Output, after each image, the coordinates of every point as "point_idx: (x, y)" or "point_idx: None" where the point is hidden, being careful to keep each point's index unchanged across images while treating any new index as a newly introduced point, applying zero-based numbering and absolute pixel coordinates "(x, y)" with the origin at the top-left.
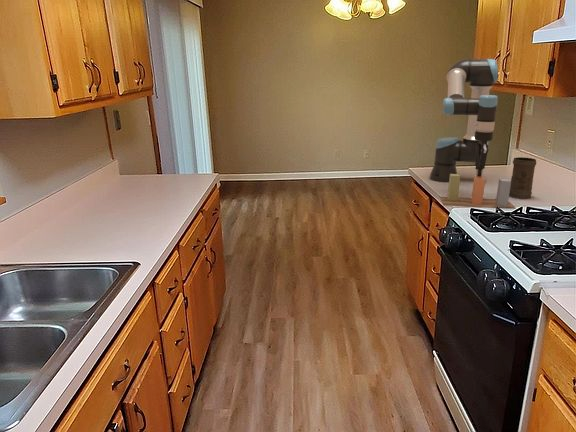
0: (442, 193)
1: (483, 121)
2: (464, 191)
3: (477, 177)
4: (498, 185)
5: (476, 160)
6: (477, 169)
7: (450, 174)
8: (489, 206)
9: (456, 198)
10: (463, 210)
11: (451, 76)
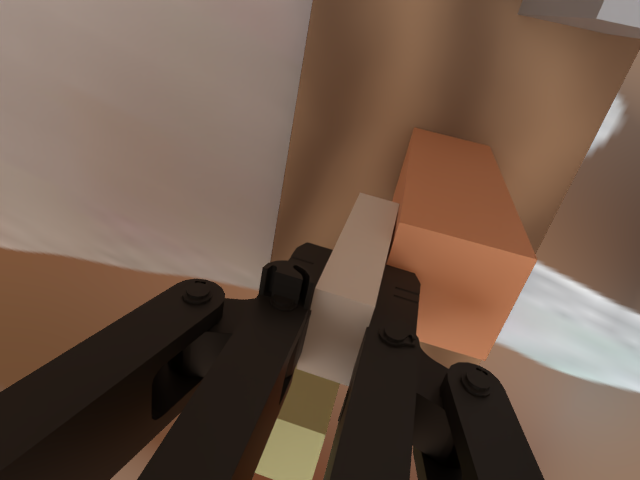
0: (130, 247)
1: None
2: (45, 67)
3: (425, 317)
4: (584, 20)
5: (151, 432)
6: (352, 370)
7: None
8: (566, 108)
9: None
10: (538, 307)
11: None
